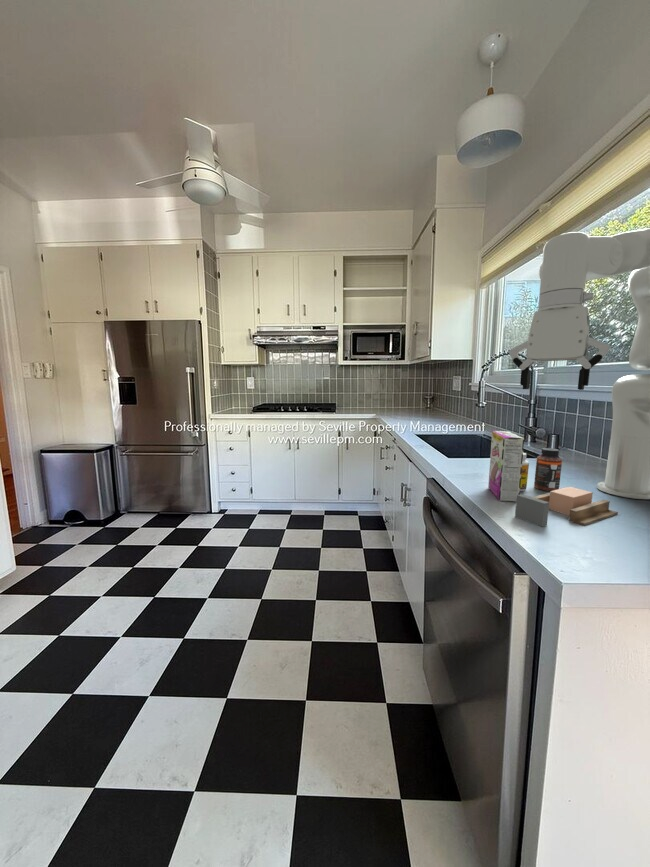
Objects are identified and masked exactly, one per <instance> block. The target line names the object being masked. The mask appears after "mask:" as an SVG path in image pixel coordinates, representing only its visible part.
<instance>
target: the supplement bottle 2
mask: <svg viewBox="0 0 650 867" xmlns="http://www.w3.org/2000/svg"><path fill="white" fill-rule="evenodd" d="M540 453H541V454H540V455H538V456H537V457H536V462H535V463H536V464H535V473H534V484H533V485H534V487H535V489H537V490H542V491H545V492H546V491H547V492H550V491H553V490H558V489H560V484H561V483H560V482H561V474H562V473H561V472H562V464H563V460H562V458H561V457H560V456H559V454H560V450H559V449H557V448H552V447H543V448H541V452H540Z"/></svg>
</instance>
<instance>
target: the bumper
mask: <svg viewBox="0 0 650 867" xmlns="http://www.w3.org/2000/svg"><path fill="white" fill-rule="evenodd" d="M533 497H534V496H529V495H526V494H523V493H520V495H517V499H516V502H515V510H514V511H515V512H514V518H517V519H520V520H524V521H526V522H528V523H531V524H534V525H536V526H539V527H542V528H543V527H546V526H548V517H549V510H550V509H549V502H546V501H543V500H540V499H536V498H533Z"/></svg>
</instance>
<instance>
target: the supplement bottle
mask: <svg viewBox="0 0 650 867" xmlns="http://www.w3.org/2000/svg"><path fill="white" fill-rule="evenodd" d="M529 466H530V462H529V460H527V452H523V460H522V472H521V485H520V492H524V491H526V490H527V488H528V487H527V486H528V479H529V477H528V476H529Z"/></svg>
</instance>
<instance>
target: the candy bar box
mask: <svg viewBox="0 0 650 867" xmlns="http://www.w3.org/2000/svg"><path fill="white" fill-rule="evenodd" d="M490 442H491V443H490V455H489V456H490V457H489V459H490V460H489V473H488V487H487V488H488V489H489V490H490V491H491V493H492V494H493V495H494V496H495V497H496V499H497V500H498V501H499V502H507V503H509V502H510V503H516V499H517V495H520V494H521V491H520V485H521V472H522V460H523V453H524V445H525V444H524V443H525V438H524V437H522V436H520V435H517V434H516V433H514V432H511V431H507V430H506V431H505V430H493V431H491V441H490Z"/></svg>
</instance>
